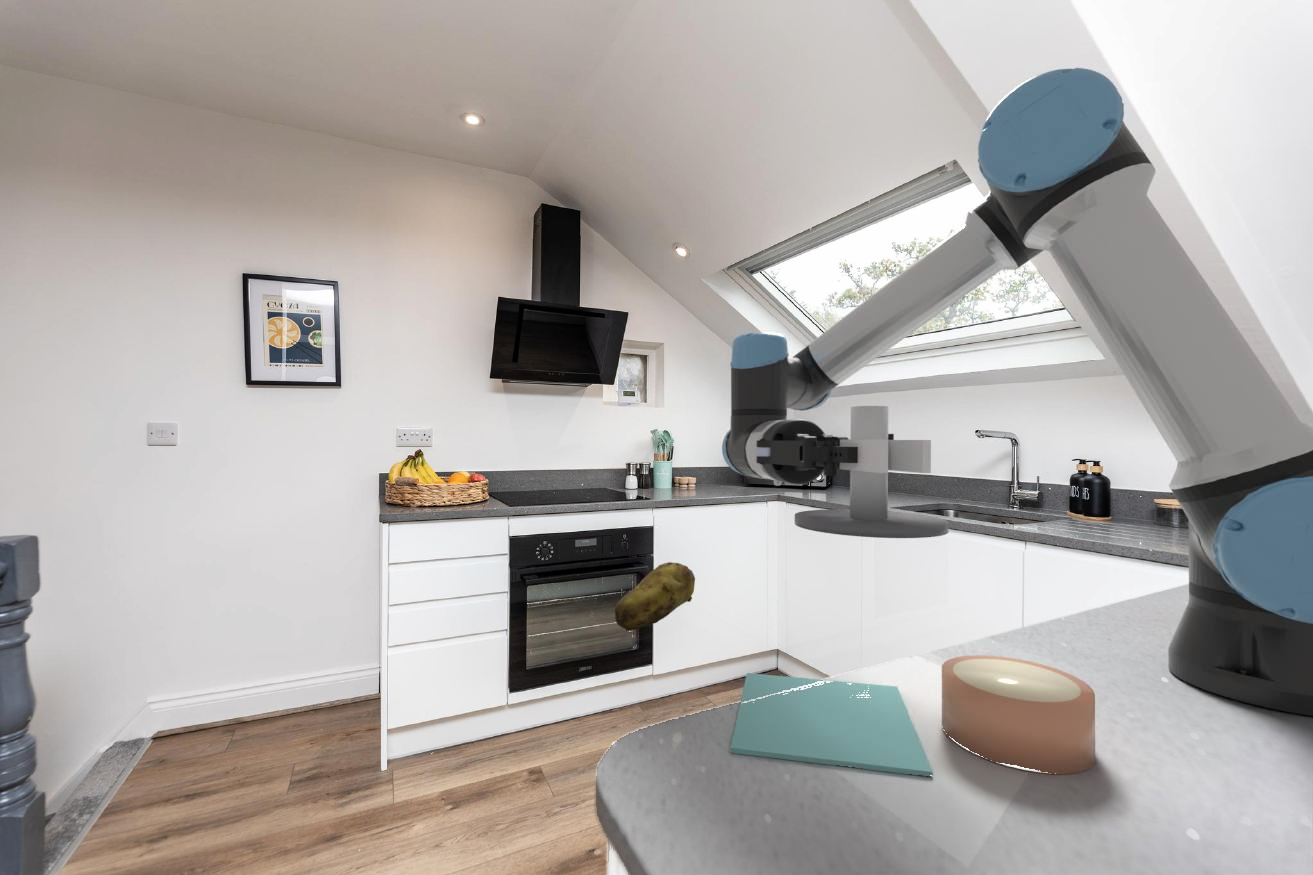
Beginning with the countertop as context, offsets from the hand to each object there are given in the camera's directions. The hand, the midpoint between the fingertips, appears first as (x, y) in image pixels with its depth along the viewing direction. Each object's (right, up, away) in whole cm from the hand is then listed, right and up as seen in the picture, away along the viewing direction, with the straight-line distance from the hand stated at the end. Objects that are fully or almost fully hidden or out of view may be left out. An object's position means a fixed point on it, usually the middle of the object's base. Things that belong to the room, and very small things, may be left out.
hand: (905, 456), depth 48 cm
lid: (-1, -7, +5) cm, 8 cm away
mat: (-5, -24, +5) cm, 25 cm away
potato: (-21, -24, +34) cm, 46 cm away
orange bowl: (+10, -24, +2) cm, 26 cm away
